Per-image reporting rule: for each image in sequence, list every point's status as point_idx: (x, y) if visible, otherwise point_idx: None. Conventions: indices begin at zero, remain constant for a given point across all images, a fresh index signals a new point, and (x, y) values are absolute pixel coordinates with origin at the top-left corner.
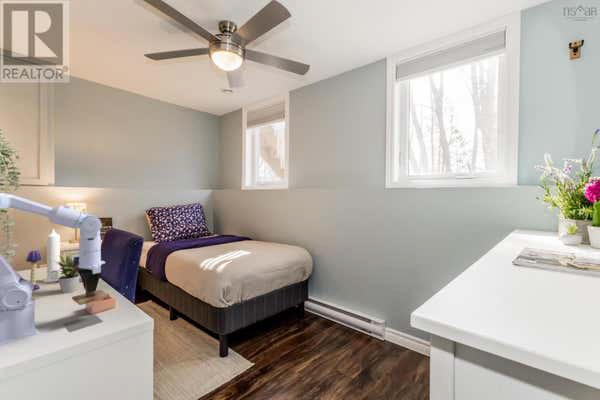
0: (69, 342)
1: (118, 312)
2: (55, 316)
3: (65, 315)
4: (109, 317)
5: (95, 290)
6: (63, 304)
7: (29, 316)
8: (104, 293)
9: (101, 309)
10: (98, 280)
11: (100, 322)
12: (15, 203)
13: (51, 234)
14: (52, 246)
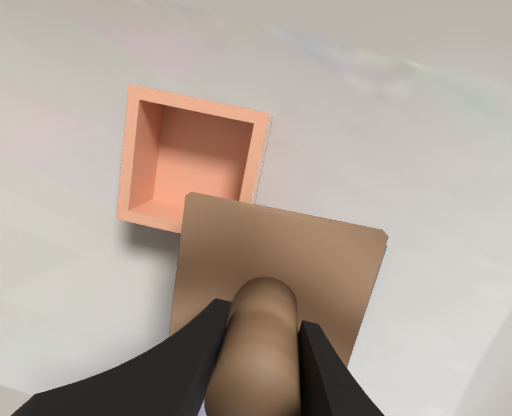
0: (429, 391)
1: (338, 138)
2: (111, 297)
3: (136, 274)
4: (355, 198)
5: (321, 329)
6: None
7: None
8: (320, 237)
9: (256, 188)
10: (369, 399)
11: (382, 257)
12: None
13: None
14: None
